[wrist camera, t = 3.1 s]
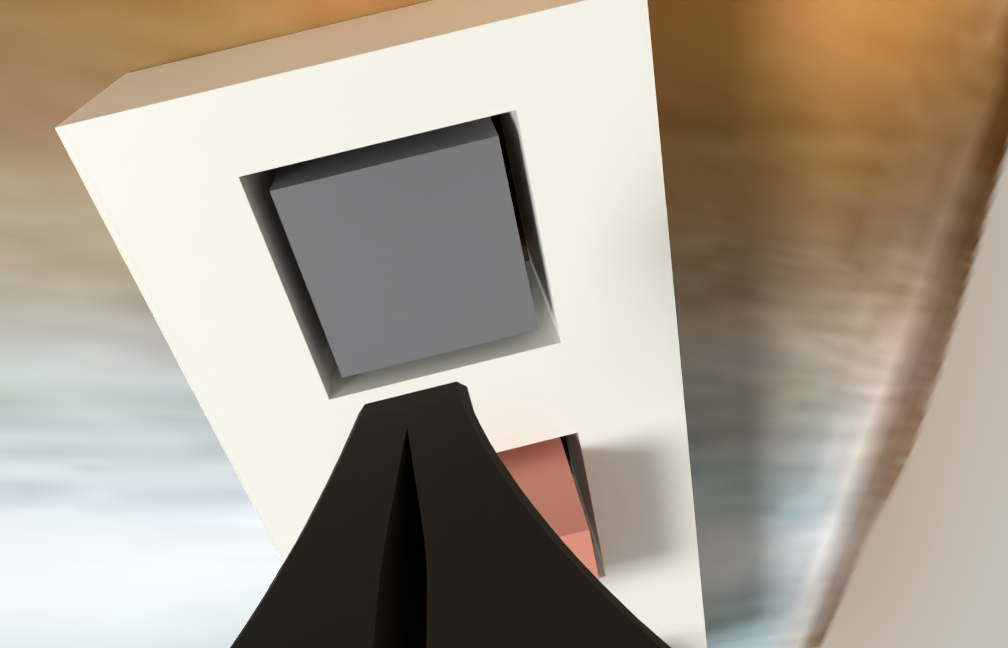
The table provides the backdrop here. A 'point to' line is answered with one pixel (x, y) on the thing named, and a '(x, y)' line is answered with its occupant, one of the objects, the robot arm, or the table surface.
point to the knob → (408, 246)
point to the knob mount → (482, 368)
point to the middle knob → (552, 493)
